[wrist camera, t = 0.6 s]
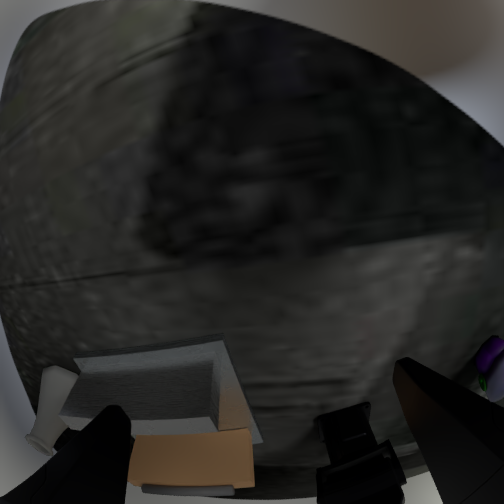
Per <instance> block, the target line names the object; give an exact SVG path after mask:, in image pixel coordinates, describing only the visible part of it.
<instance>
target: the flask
mask: <svg viewBox="0 0 504 504" xmlns="http://www.w3.org/2000/svg"><path fill="white" fill-rule="evenodd" d="M78 377H79V376H78V375H77V374H76V373H73V372H71V371H68V370H66V369H64V368H61V367H59V366H56V365H55V366H51V367H47V368H43V373H42V380H41V389H40V397H39V404H38V412H37V416H36V420H35V424H34V427H33V429H32V431H31V433H30V434H27V435H26V436H25V438H26V440H27V441H28V443H29V444H30V445H32V447H34V448H35V449H36V450H37V451H39V452H41V453H43V454H45V455H48V456H53V451H52V448H53V446H54V444H55V442H56V440H57V439H58V437H59V436H60V435H61V434H62V432H63V431H64V430H65V429H66V428H68V426H67V424H66V423H65V422H64V421H63V420H62V419H61V418H60V417H59V416H58V414H59V412H60V410H61V408H62V406H63V404H64V403H65V401H66V399H67V397H68V395H69V393H70V391H71V389H72V387H73V386H74V384H75V382H76V380H77V378H78Z"/></svg>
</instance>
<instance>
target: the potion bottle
mask: <svg viewBox="0 0 504 504" xmlns="http://www.w3.org/2000/svg"><path fill="white" fill-rule="evenodd" d="M474 365H476V368H477V370H478V372H479V374H480V375H479V379H478V380H479V384H480V386H481V388H482V390H483V391H485V392H486V394H487V397H488V399H489V400H490V402H495V401H498V400H501V399H502V398H503V397H504V340H502V339H501V338H499V336H493V335H492V336H491V337H490V338H489V339H488V340H487V341H486V342H484V343H483V344H482V345H481V347H480V349H479V350H478V352H477V354H476V355H475V357H474Z"/></svg>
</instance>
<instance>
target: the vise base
mask: <svg viewBox="0 0 504 504" xmlns="http://www.w3.org/2000/svg"><path fill="white" fill-rule="evenodd" d="M73 359H74V361H75V362H76V364H77V365H78V367H79V368H80V370H81V373H80V375H79V377H78V378H77V380H76V382H75V384H74V386H73V387H72V389H71V391H70V393H69V395H68V397H67V399H66V401H65V403H64V404H63V406H62V408H61V410H60V412H59V414H58V416H59V417H60V418H61V419H62V420H63V421H64V422H65V423H66V424H67V426H68V427H69V428H70V429H73V430H82V429H83V428H84V427H85V426H86V425H87V424H88V423H89V422H91V421H92V420H93V419H94V418H95V417H96V416H97V415H98V414H99V413H100V412H101V411H102V410H103V409H104V408H105V407H106V406H108V405H119V406H121V407H122V409H123V410H124V412H125V413H126V414H127V416H128V417H129V418H130V420H131V424H132V427H131V435H132V436H133V437H134V439H136V435H180V434H199V433H211V432H220V431H229V430H238V429H245V428H248V430H249V432H250V434H251V436H252V444H256V443H263V442H264V441H263V435H262V433H261V430H260V428H259V425H258V423H257V420H256V418H255V416H254V413H253V411H252V408H251V406H250V403H249V401H248V398H247V396H246V393H245V390H244V388H243V385H242V383H241V380H240V377H239V375H238V372H237V370H236V367H235V364H234V361H233V359H232V356H231V353H230V351H229V348H228V345H227V342H226V339H225V337H224V334H223V333H221V334H215V335H210V336H204V337H198V338H192V339H186V340H180V341H174V342H167V343H160V344H153V345H145V346H137V347H129V348H121V349H111V350H101V351H91V352H79V353H76V355H75V356H74V358H73Z"/></svg>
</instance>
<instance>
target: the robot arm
mask: <svg viewBox="0 0 504 504" xmlns="http://www.w3.org/2000/svg"><path fill="white" fill-rule="evenodd" d="M393 384H394V387H395V390H396V393H397V395H398V398H399V401H400V404H401V407H402V410H403V413H404V416H405V418H406V421H407V423H408V426H409V428H410V430H411V432H412V434H413V436H414V438H415V440H416V442H417V445H418V447H419V449H420V451H421V453H422V455H423V458H424V460H425V462H426V464H427V466H428V469H429V471H430V473H431V475H432V478H433V480H434V482H435V485H436V487H437V490H438V492H439V495H440V497H441V499H442V502H443V504H504V407H501V406H499V405H497V404H496V403H494V402H490V400H488V399H486V398H484V397H482V396H480V395H478V394H476V393H474V392H472V391H471V390H469V389H467V388H465V387H463V386H461V385H459V384H457V383H456V382H454V381H452V380H450V379H448V378H446V377H444V376H442V375H441V374H439V373H437V372H435V371H433V370H431V369H430V368H428V367H426V366H424V365H422V364H420V363H418V362H417V361H415V360H413V359H411V358H409V357H405V358H402V359H399V360H397V361H396V362H395V367H394V373H393ZM370 409H371V404H370V402H365V403H362V404H359V405H356V406H353V407H350V408H346V409H343V410H339V411H336V412H332V413H329V414H325V415H321V416H319V417H318V418H317V421H318V429H319V438H320V442H321V443H326V447H327V451H328V454H329V458H330V462H331V465H328V466H325V467H322V468H321V467H320V468H317V474H316V481H317V504H404V503H405V497H404V493H403V490H402V488H401V486H402V485H404V484H406V483H407V482H406V478H405V475H404V472H403V470H402V467H401V465H400V463H399V460H398V458H397V456H396V454H395V451H394V449H393V447H392V445H391V443H390V441H389V439H388V440H386V441H385V442H383V443H381V444H379V445H378V444H377V441H376V439H375V437H374V434H373V432H372V429H371V427H370V424H369V416H370ZM131 427H132V424H131V420H130V418H129V417H128V416H127V414H126V413H125V412H124V410H123V409H122V407H121V406H119V405H108V406H106V407H105V408H104V409H103V410H102V411H101V412H100V413H99V414H98V415H97V416H96V417H95V418H94V419H93V420H92V421H91V422H89V423H88V424H87V425H86V426H85V427H84V428H83V429H82V430H81V431H80V432H79V433H78V434H77V435H76V436H74V437H73V438H72V439H71V440H70V441H69V442H68V443H67V444H66V445H65V446H64V447H63V448H61V449H60V450H59V451H58V452H57V453H56V454H55V455H54V456H53V457H52V458H51V459H50V460H48V461H47V463H45V464H44V465H43V466H42V467H41V468H40V469H39V470H37V471H36V472H35V473H34V474H33V475H32V476H30V477H29V478H28V479H26V480H25V481H24V482H23V483H21V484H20V485H18V486H17V487H16V488H14V489H13V490H11V491H10V492H8V493H7V494H6V495H4V496H2V497H0V504H125V495H126V487H127V479H128V471H129V464H130V447H131ZM390 458H391V459H390Z"/></svg>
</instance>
